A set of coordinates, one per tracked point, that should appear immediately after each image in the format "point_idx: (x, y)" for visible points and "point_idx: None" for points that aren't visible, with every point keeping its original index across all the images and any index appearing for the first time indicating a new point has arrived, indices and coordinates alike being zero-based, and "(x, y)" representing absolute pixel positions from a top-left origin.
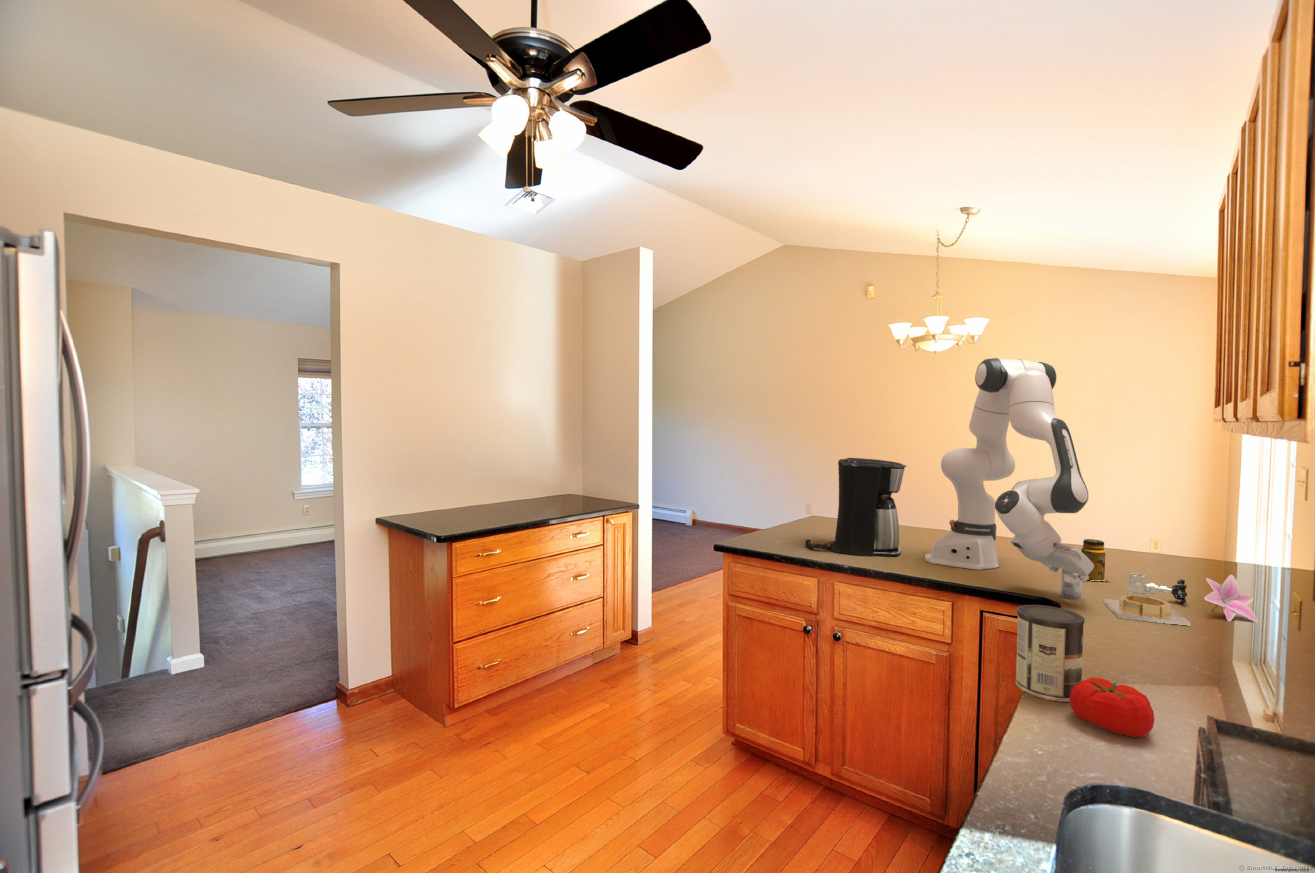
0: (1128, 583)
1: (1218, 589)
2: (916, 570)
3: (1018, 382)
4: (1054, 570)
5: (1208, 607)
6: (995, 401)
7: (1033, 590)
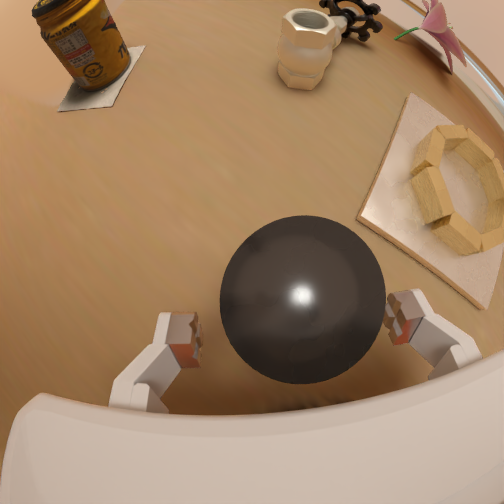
0: (295, 58)
1: (437, 15)
2: None
3: None
4: (199, 348)
5: None
6: None
7: (181, 385)
